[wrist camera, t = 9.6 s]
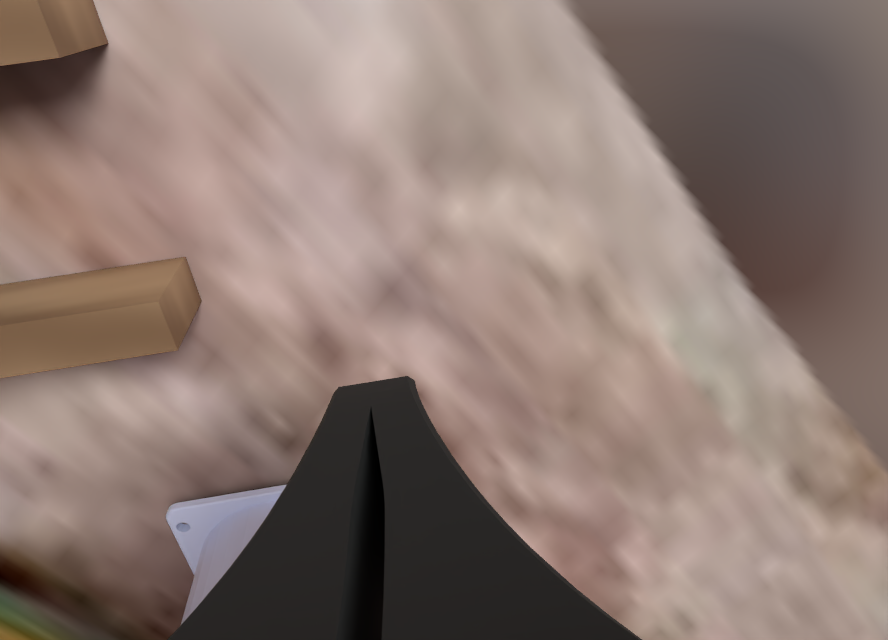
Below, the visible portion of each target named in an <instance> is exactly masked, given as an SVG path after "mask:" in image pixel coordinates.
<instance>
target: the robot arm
mask: <svg viewBox="0 0 888 640" xmlns="http://www.w3.org/2000/svg"><path fill="white" fill-rule="evenodd" d="M166 520H167V522H168V524H169V526H170V528H171V530H172V532H173V534H174V536H175V538H176V540H177V542H178V544H179V546H180V548H181V550H182V552H183V554H184V556H185V558H186V560H187V562H188V564H189V566H190V568H191V570H192V572H193V574H194V579H193V582H192V586H191V590H190V593H189V597H188V600H187V604H186V608H185V611H184V615H183V619H182V622H181V626H180V627H179V628H178V629H177V630H176V631H175V632H174V633H173V634H172V635H171V636H170V637H169V638H168V639H167V640H642V639H640V638H639V637H638V636H636V635H635V634H634V633H632V632H631V631H630V630H628V629H627V628H626V627H624V626H623V625H622V624H620V623H619V622H618V621H616V620H615V619H613V618H612V617H611V616H609V615H608V614H607V613H606V612H604V611H603V610H602V609H601V608H600V607H598V606H597V605H596V604H595V603H593V602H592V601H591V600H590V599H588V598H587V597H586V596H585V595H583V594H582V593H581V592H580V591H578V590H577V589H576V588H575V587H574V586H573V585H571V584H570V583H569V582H568V581H567V580H566V579H565V578H564V577H563V576H561V575H560V574H559V573H558V572H557V571H556V570H555V569H554V568H553V567H552V566H550V565H549V564H548V563H547V562H546V561H545V560H544V559H543V558H542V557H540V556H539V555H538V554H537V553H536V552H535V551H534V550H533V549H532V548H531V547H530V546H529V545H527V543H526V542H525V541H524V540H523V539H522V538H521V537H520V536H519V535H518V534H517V533H516V532H515V531H514V530H513V529H512V528H511V527H510V526H509V525H508V524H507V523H506V522H505V521H504V520H503V518H502V517H501V516H500V515H499V514H498V513H497V512H496V511H495V510H494V509H493V507H492V506H491V505H490V504H489V503H488V502H487V500H486V499H485V498H484V497H483V496H482V494H481V493H480V492H479V491H478V489H477V488H476V487H475V486H474V485H473V483H472V482H471V481H470V479H469V478H468V477H467V475H466V474H465V473H464V471H463V470H462V469H461V467H460V466H459V465H458V463H457V462H456V460H455V459H454V457H453V456H452V455H451V453H450V451H449V450H448V448H447V447H446V445H445V444H444V442H443V441H442V439H441V437H440V436H439V434H438V433H437V431H436V429H435V428H434V426H433V424H432V422H431V421H430V419H429V417H428V415H427V413H426V411H425V409H424V407H423V405H422V402H421V400H420V398H419V395H418V392H417V389H416V385H415V381H414V380H413V379H411V378H410V377H408V376H405V377H399V378H393V379H386V380H380V381H374V382H368V383H362V384H356V385H349V386H343V387H338V389H337V390H336V391H335V392H334V394H333V396H332V398H331V401H330V403H329V405H328V408H327V410H326V412H325V414H324V416H323V419H322V421H321V423H320V425H319V427H318V429H317V431H316V433H315V435H314V437H313V439H312V441H311V443H310V445H309V446H308V448H307V450H306V452H305V454H304V456H303V457H302V459H301V461H300V463H299V465H298V466H297V468H296V470H295V472H294V474H293V475H292V477H291V479H290V480H289V482H288V484H286V485H280V486H274V487H268V488H262V489H256V490H251V491H245V492H239V493H233V494H227V495H221V496H215V497H209V498H203V499H197V500H191V501H185V502H179V503H175V504H172V505H171V506H170V507H169V508H168V511H167V514H166ZM183 523H187V524H183Z"/></svg>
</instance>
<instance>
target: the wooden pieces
mask: <svg viewBox="0 0 888 640" xmlns="http://www.w3.org/2000/svg"><path fill="white" fill-rule="evenodd" d="M104 44H108V41H107V38H106V36H105V33H104V30H103V27H102V24H101V22H100V19H99V16H98V13H97V11H96V8H95V5H94V2H93V0H0V66H3V65H11V64H18V63H25V62H33V61H40V60H47V59H55V58H61V57H64V56H68V55H71V54H74V53H78V52H81V51H84V50H88V49H91V48H94V47H98V46H101V45H104ZM200 303H201V298H200V296H199V293H198V290H197V287H196V285H195V282H194V279H193V276H192V274H191V271H190V268H189V265H188V262H187V260H186V257H181V258H175V259H168V260H161V261H155V262H148V263H141V264H135V265H128V266H122V267H115V268H108V269H102V270H95V271H89V272H82V273H75V274H69V275H62V276H55V277H49V278H42V279H36V280H29V281H22V282H16V283H9V284H3V285H0V378H5V377H11V376H18V375H24V374H31V373H37V372H43V371H50V370H56V369H62V368H69V367H75V366H81V365H88V364H94V363H100V362H107V361H113V360H119V359H126V358H132V357H139V356H145V355H151V354H158V353H164V352H170V351H177V350H178V349H179V347H180V345H181V342H182V340H183V338H184V336H185V334H186V332H187V330H188V328H189V326H190V324H191V322H192V320H193V318H194V316H195V313H196V311H197V309H198V307H199V305H200Z"/></svg>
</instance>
